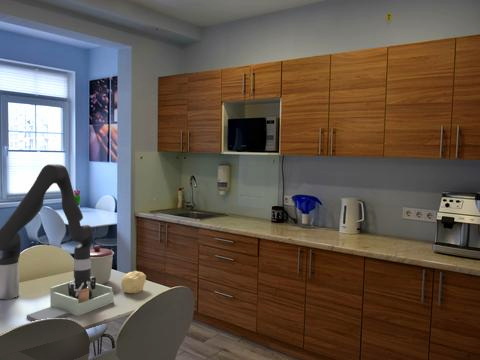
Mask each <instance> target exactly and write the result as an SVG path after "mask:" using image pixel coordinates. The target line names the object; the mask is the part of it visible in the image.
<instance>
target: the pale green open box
mask: <svg viewBox="0 0 480 360" xmlns="http://www.w3.org/2000/svg"><path fill="white" fill-rule="evenodd" d="M74 281H75V279H74V280H71V281H67V282H64V284H62V283H60V284H58V285H55V286H51V287H50V289H49V291H50V292H49V295H50V306H49V307H51V306H52V307H55V308H58V309H61V310H64V311H67V312H68V314H72V315H74V316H77V317H79V316H82V315H84V314H88V313H89V312H92V311H94V310H97V309H99V308H101V307H104V306H107V305H110V304H112V303H114V292H113V287H112V286H111V287H110V286H107V285H105V284H97V283H96V286H95V289H93V290H92V297H91V299H90V300H88V301H85V302H82V303H79V299H76V298H73V297H72V296H69V290H68V284H69V283H74ZM89 284H90V282H89ZM75 294H76V293H75Z"/></svg>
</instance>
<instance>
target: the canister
mask: <svg viewBox="0 0 480 360" xmlns="http://www.w3.org/2000/svg"><path fill="white" fill-rule="evenodd" d="M114 255H115V252H114V251H113V250H111V249H108V248H101V246H100V245H98V244H96V245H94V246H93V248H90V261H91V276H93V277H96V283H97V284H101V285H105V284H107V283H108V282H109V281H110V278H111V274H112V267H113V258H114V257H113V256H114ZM91 276H90V277H91Z"/></svg>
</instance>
